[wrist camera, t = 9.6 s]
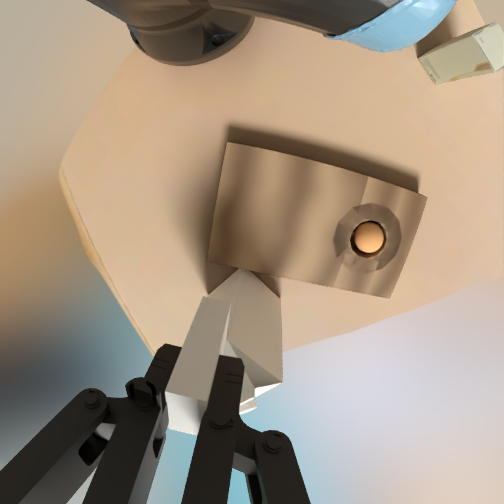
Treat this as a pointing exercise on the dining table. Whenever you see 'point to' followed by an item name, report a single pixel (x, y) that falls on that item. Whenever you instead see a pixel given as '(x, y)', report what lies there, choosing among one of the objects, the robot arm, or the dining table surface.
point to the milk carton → (253, 333)
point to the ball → (368, 237)
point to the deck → (310, 221)
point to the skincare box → (466, 55)
